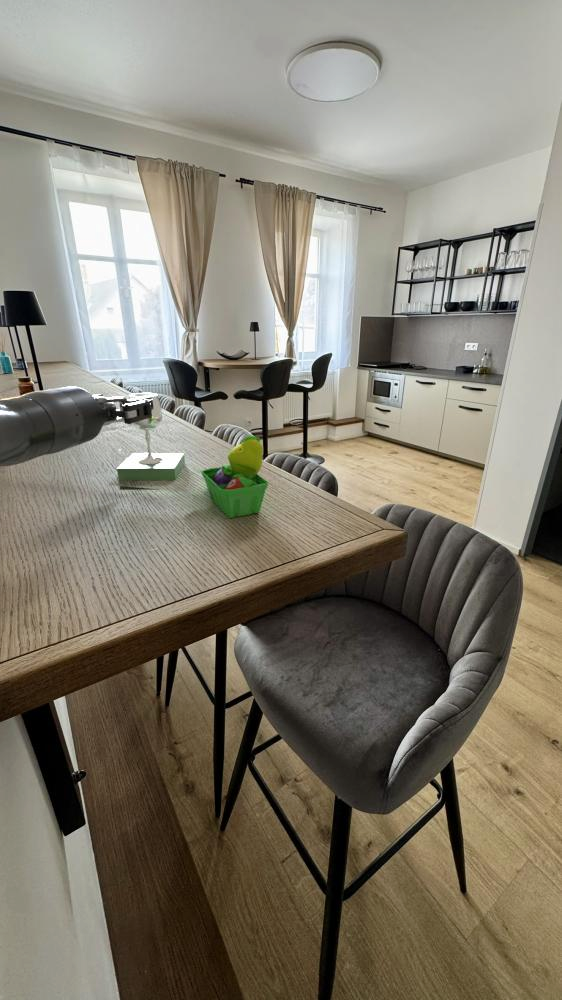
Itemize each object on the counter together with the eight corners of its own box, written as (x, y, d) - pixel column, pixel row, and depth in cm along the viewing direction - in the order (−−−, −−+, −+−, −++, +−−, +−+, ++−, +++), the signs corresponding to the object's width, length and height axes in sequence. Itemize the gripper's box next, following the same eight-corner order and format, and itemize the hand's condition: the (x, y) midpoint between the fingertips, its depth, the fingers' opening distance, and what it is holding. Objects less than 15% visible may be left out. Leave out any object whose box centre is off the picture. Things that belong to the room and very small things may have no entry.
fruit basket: (201, 498, 70) (196, 432, 66) (248, 490, 74) (247, 428, 70) (224, 523, 61) (221, 449, 56) (277, 513, 64) (278, 442, 60)
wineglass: (173, 459, 77) (167, 394, 73) (149, 467, 73) (141, 397, 68) (151, 455, 80) (144, 391, 75) (127, 462, 75) (118, 395, 71)
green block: (119, 489, 73) (116, 468, 72) (135, 472, 82) (132, 453, 81) (176, 489, 74) (174, 468, 72) (185, 472, 83) (184, 453, 82)
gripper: (101, 391, 49) (164, 379, 64) (0, 387, 52) (83, 376, 66) (110, 452, 52) (168, 427, 67) (13, 445, 54) (90, 422, 69)
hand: (125, 402), depth 67 cm, fingers open, 8 cm apart
